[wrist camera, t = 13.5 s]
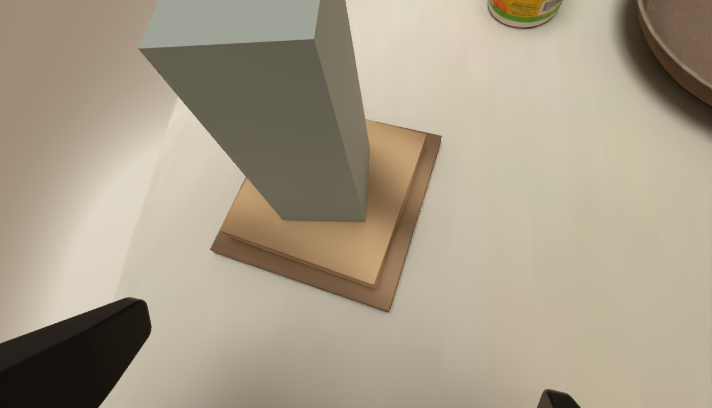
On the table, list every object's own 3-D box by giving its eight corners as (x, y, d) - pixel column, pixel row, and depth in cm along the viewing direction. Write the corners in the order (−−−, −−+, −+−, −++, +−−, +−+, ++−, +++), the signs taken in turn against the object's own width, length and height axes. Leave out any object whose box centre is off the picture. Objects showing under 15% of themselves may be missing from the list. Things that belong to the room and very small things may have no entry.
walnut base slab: (389, 313, 22) (388, 310, 21) (220, 255, 25) (209, 249, 23) (439, 147, 26) (441, 136, 25) (289, 113, 29) (283, 101, 27)
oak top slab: (375, 289, 21) (373, 284, 20) (230, 237, 24) (219, 230, 22) (425, 146, 24) (426, 134, 23) (292, 114, 27) (286, 101, 25)
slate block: (365, 221, 21) (314, 39, 9) (282, 220, 22) (138, 48, 10) (370, 148, 23) (332, -79, 11) (293, 148, 24) (184, -64, 12)
